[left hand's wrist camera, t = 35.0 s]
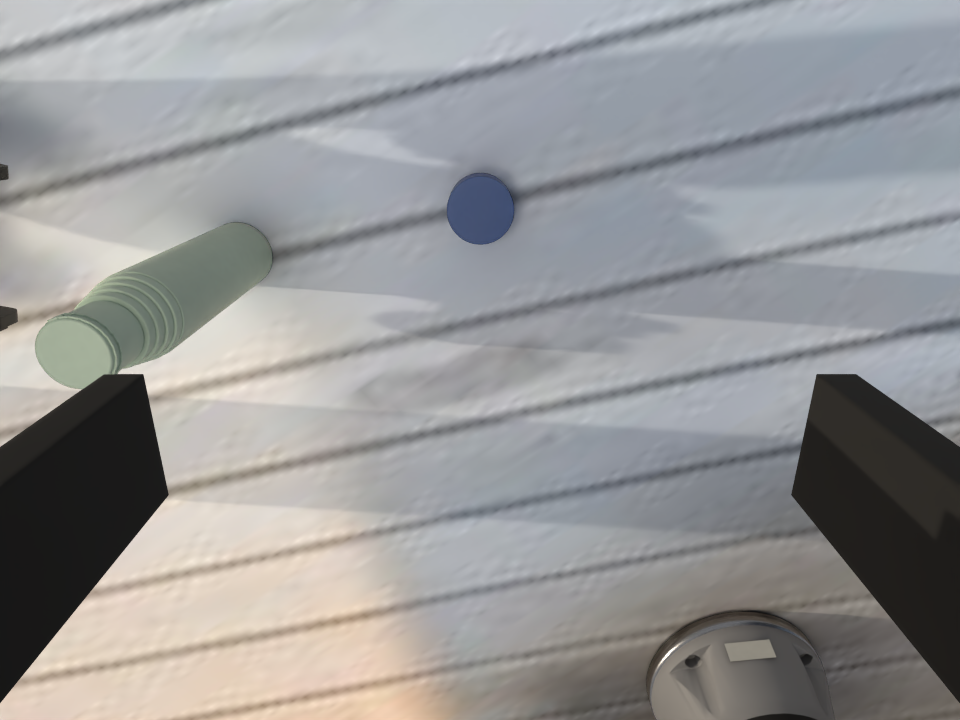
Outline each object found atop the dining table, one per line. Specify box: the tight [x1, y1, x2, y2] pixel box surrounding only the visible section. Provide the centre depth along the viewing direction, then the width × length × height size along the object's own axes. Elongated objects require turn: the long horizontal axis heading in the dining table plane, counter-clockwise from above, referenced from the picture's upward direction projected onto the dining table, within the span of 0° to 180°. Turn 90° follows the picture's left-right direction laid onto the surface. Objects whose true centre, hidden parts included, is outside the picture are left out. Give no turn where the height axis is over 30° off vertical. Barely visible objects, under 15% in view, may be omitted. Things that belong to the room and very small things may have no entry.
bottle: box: [35, 222, 272, 389], centre depth 35 cm, size 4×4×19 cm
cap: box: [447, 173, 514, 244], centre depth 41 cm, size 4×4×2 cm
